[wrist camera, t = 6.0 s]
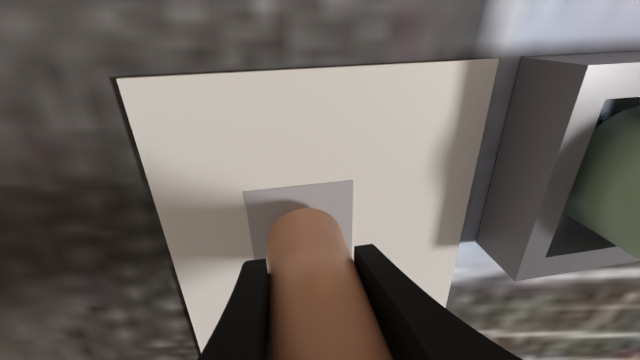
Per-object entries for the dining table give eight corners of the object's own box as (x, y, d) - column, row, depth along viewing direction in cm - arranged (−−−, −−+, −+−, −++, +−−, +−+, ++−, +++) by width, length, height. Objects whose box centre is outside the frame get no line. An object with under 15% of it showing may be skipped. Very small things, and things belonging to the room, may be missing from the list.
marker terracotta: (344, 263, 12) (428, 501, 6) (271, 276, 12) (283, 542, 6) (341, 201, 11) (444, 424, 5) (258, 214, 11) (259, 472, 5)
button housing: (622, 221, 16) (682, 253, 13) (476, 242, 14) (515, 281, 12) (707, 47, 12) (809, 52, 10) (521, 56, 11) (588, 65, 9)
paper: (437, 332, 17) (439, 336, 17) (209, 374, 15) (209, 379, 15) (495, 58, 11) (500, 58, 10) (118, 77, 9) (115, 78, 9)
